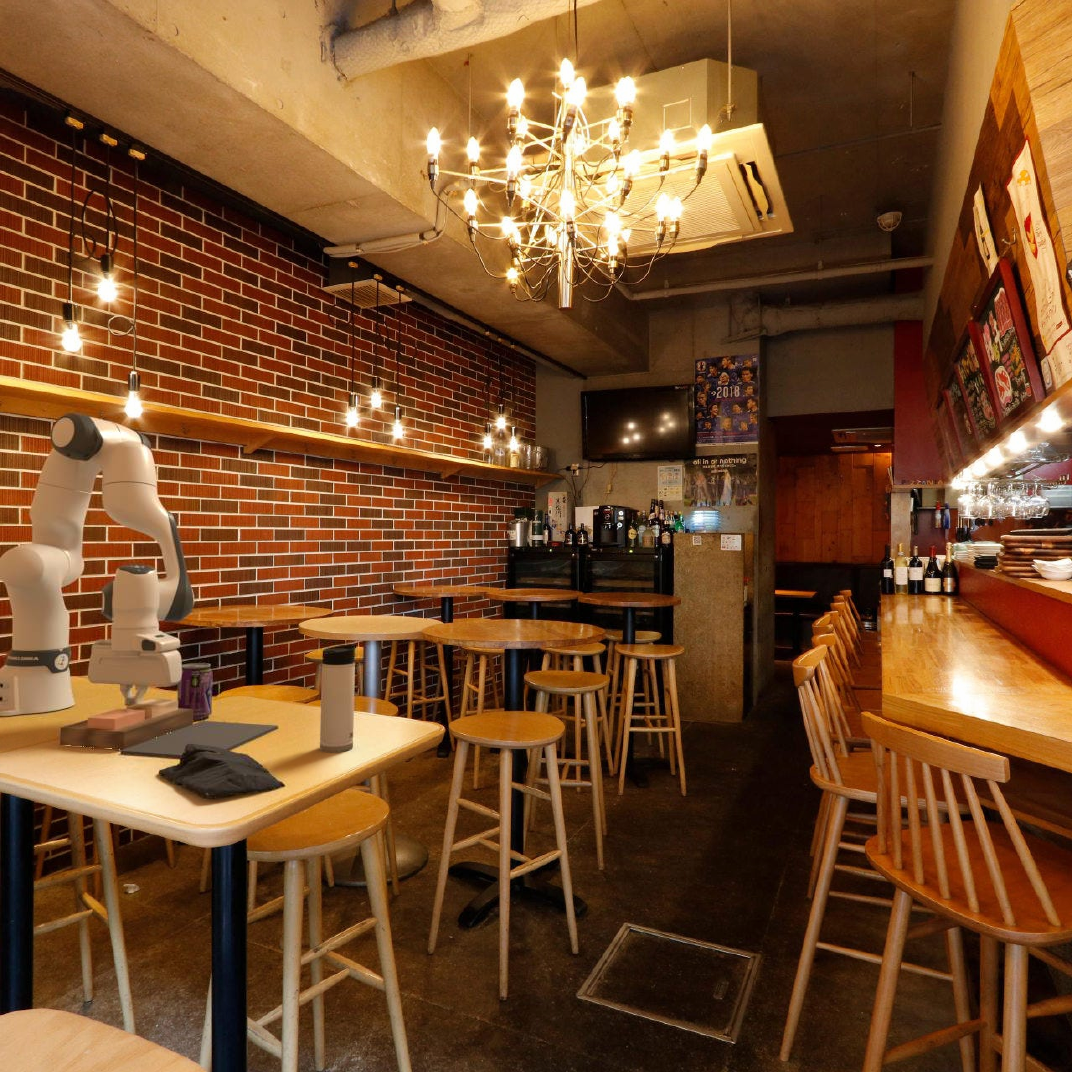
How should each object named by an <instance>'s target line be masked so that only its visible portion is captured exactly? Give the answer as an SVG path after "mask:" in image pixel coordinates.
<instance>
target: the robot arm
mask: <svg viewBox="0 0 1072 1072" xmlns="http://www.w3.org/2000/svg"><path fill="white" fill-rule="evenodd" d="M50 442H51V446H52V449H51V450H50V452H49V454H48V455H47V458H46V459H45V462H44V464H43V466H42V468H41V472H40V474H39V478H38V480H37V484H36V487H35V491H34V495H33V499H32V502H31V506H30V510H29V518H30V520H31V525H32V538H31V540H32V541H31V543H24V544H20V545H18V546H15V547H12V548H10V549H9V550H7V551H6V552H4V553H3V554H2V555H1V556H0V580H1V582H2V583H4V585H5V588H6V592H7V595H8V599H9V603H10V608H11V613H12V614H11V615H12V635H11V636H12V637H11V638H12V641H11V642H12V643H11V646H12V647H11V648H10V650H9V651H3V652H1V654H2V656H1V658H6V659H5V662H4V665H3V666H2V667H1V668H0V717H9V716H17V715H26V714H38V713H39V714H40V713H46V712H54V711H59V710H63V709H67V708H70V707H73V706H75V704H76V702H75V698H74V695H73V691H72V690H73V689H72V682H71V673H70V672H71V671H70V668H69V666H70V662H71V659H72V657H71V656H72V651H71V650H72V648H71V646H70V645H69V644H70V642H69V641H70V612H69V610H68V609H67V607H66V605H65V601H64V597H63V592H62V588H64V587H66V586H68V585H71V584H72V583H74V582H76V580H77V579H79V578H80V577H81V575H82V574H83V572H84V569H85V561H84V558H83V555H82V554H83V542H84V541H83V539H84V538H83V536H84V534H83V533H84V526H85V521H86V518H87V517H86V516H87V512H88V509H89V506H90V502H91V497H92V494H93V489H94V485H95V482H96V478H97V476H98V474H100V473H101V472H102V477H101V478H102V480H101V481H102V482H101V495H102V496H101V497H102V506H103V509H104V512H105V513H106V514H107V515H108V516H109V518H110V519H112V521H114V522H115V523H117V524H120V525H121V526H123V527H125V528H127V529H131V530H133V531H136V532H138V533H139V532H140V533H142V534H145V535H146V536H148V537H150V538H153V539H154V540H155V541H156V542H157V543H158V545H159V548H160V550H161V554H162V559H163V563H164V564H163V566H164V570H165V573H166V574H165V575H166V577H164V578H159V577H158V572H157V569H156V568H155V567H153V566H151V565H147V564H139V563H137V564H135V563H134V564H133V563H131V564H125V565H121V566H119V567H118V568H116V571H115V576H114V580H112V581H110V582H109V583H107V584H106V585H104V587H103V588H102V589H101V594H102V602H101V603H102V604H101V605H102V606H101V612H100V614H102V615H103V616H104V617H106V619H108V620H109V621H111V622H112V624H111V630H110V631H111V637H110V638H111V639H103V638H102V639H98V640H97V641H95V642H94V643H93V645H92V646H91V654H90V658H89V661H88V670H87V679H88V681H89V682H90V683H91V684H102V685H103V684H105V685H119V691H120V692H121V694H122V696H123V698H124V706H130V705H133V704H137V703H140V702H144V700H143V699H144V697H145V695H146V693H147V691H148V690H149V687H162V688H163V687H164V688H166V687H167V688H168V687H169V688H170V687H173V686H176V685H177V686H178V683H179V682H180V680H181V677H182V665H183V664H182V656H181V653H180V652H179V650H177V649H179V648H180V646H181V640H180V639H179V638H178V637H176V636H173V635H170V634H167V633H165V632H163V631H162V630H160V629H159V628H160V624H159V622H167V623H168V622H171V623H179V622H181V621H182V620H184V619H185V618H187V617H188V616H189V615H190V614H191V613H192V612H193V610H194V605H195V594H194V590H193V588H192V585H191V581H190V578H189V574H188V571H187V565H186V561H185V557H184V552H183V551H184V550H183V547H182V543H181V538H180V535H179V530H178V525H177V522H176V519H175V517H174V515H173V513H172V512H171V511H170V510H167V509H166V508H165V507H164V506H163V505H162V502H161V501H160V498H159V495H158V481H157V480H158V479H157V470H156V465H155V460H154V456H153V452H152V445H151V442H150V441H149V438H147V437H146V435H144V434H143V433H141V432H139V431H138V430H135V429H134V428H133V429H132V428H128V427H126V426H125V425H122V424H119V423H117V422H114V421H112V420H105V419H101V418H97V417H92V416H89V415H87V414H84V413H76V412H68V413H65V414H62V415H61V416H60V417H58V418H57V420H55V422H54V423H53V425H52V427H51V430H50ZM4 654H5V655H4ZM134 686H135V687H134ZM133 687H134V690H135V691H136V692H135V696H134V693H133V691H132V689H133Z"/></svg>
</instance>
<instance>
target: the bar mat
mask: <svg viewBox="0 0 1072 1072" xmlns="http://www.w3.org/2000/svg"><path fill="white" fill-rule="evenodd" d="M278 729H279V725H274V724H261V723H260V724H259V723H244V722H243V723H241V722H227V721H212V720H211V721H210V720H200V721H198V722H196V723H193V725H190V726H187V727H184V728H182V729H179V730H176V731H173V732H171V733H168V734H165V735H162V736H160V737H157V738H154V739H151V740H149V741H146V742H143V743H140V744H138V745H135V746H132V747H129V748H127V749H124V750H120V754H121V755H129V754H131V756H142V757H143V756H145V757H146V756H147V757H157V758H170V759H171V758H172V759H180V758H181V757H182V754H183V752H184V751H185V747H186V745H187V744H197V745H205V746H214V747H218V748H222V749H225V750H228V751H232V750H234V749H236V748H238V747H240V746H243V745H245V744H247V743H249V742H252V741H253V740H256V739H258V738H260V737H262V735H263V736H264V735H267V734H268V732H269V733H271V732H274V731H276V730H278Z"/></svg>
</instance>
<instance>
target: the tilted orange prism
mask: <svg viewBox="0 0 1072 1072" xmlns="http://www.w3.org/2000/svg"><path fill="white" fill-rule="evenodd" d="M87 720H88V724H87V728H97V729H111V730H115V729H119V728H122V727H125V726H128V725H131V724H134V723H137V722H140V721H143V720H145V710H134V709H126V708H116V709H113V710H109V711H106V712H103V713H99V714H95V715H92V716H89V717H87Z"/></svg>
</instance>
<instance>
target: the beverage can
mask: <svg viewBox="0 0 1072 1072" xmlns="http://www.w3.org/2000/svg"><path fill="white" fill-rule="evenodd" d="M213 673H214V672H213V670H212V668H211V663H209V662H208V663H205V662H194V663H193V662H192V663H186V664H182V677H181V680H180V682H179V683H178V684H177V696H176V698H177V699H176V700H178V708H182V709H193V721H201V720H203V718H204V719H207V717H209V716H211V715H212V712H213V708H212V705H213ZM200 719H201V720H200Z"/></svg>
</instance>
